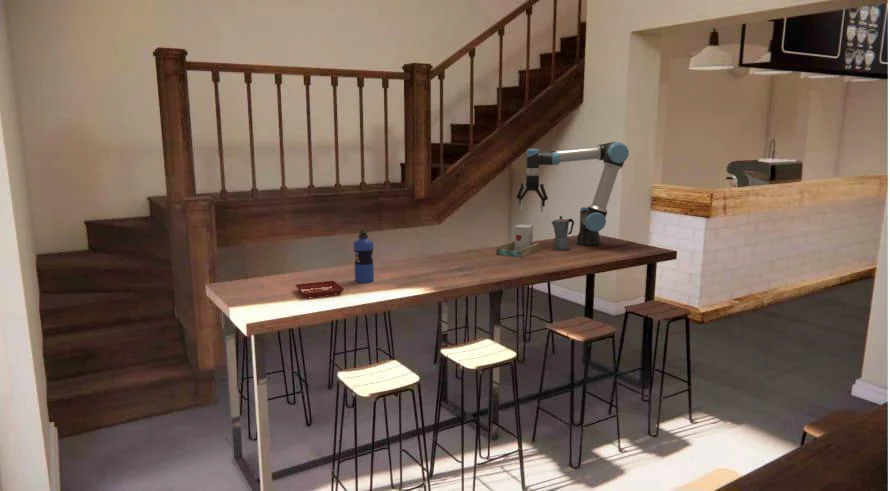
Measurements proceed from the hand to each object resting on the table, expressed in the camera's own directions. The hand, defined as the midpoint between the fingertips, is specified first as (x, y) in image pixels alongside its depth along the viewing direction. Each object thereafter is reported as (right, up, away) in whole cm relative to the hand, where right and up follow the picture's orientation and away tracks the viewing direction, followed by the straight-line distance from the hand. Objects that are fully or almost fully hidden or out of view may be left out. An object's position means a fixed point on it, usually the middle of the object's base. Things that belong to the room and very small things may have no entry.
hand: (531, 211), depth 383 cm
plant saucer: (-108, -42, -99) cm, 152 cm away
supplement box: (-6, -24, -5) cm, 25 cm away
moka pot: (+18, -23, -1) cm, 29 cm away
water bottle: (-91, -38, -78) cm, 126 cm away
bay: (-9, -25, -11) cm, 29 cm away
